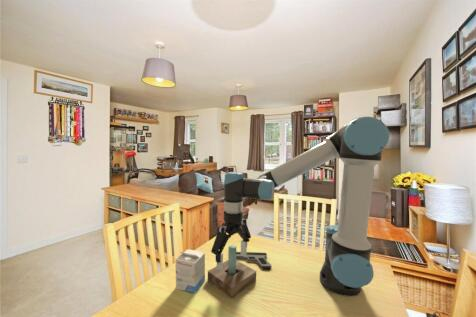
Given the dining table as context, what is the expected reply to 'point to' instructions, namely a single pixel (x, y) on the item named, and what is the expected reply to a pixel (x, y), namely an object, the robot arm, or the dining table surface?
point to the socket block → (232, 278)
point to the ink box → (190, 270)
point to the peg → (232, 260)
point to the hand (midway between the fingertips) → (232, 262)
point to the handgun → (256, 259)
